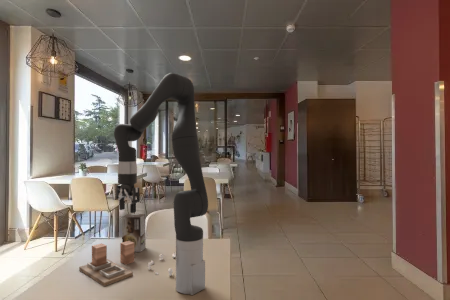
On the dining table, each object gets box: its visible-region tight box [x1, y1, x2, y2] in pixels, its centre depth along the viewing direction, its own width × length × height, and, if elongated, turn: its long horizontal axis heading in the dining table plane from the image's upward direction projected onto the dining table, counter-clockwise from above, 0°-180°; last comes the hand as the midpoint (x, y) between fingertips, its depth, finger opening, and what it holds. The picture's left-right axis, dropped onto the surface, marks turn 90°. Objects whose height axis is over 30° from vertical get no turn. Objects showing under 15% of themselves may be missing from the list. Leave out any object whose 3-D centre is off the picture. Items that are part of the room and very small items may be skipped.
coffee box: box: [121, 213, 147, 253], centre depth 135 cm, size 9×6×16 cm
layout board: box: [78, 243, 134, 287], centre depth 110 cm, size 20×11×9 cm, turn 49°
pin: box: [119, 241, 135, 265], centre depth 120 cm, size 4×4×8 cm
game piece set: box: [147, 251, 176, 277], centre depth 117 cm, size 19×20×4 cm
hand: (127, 211), depth 120 cm, fingers open, 8 cm apart
